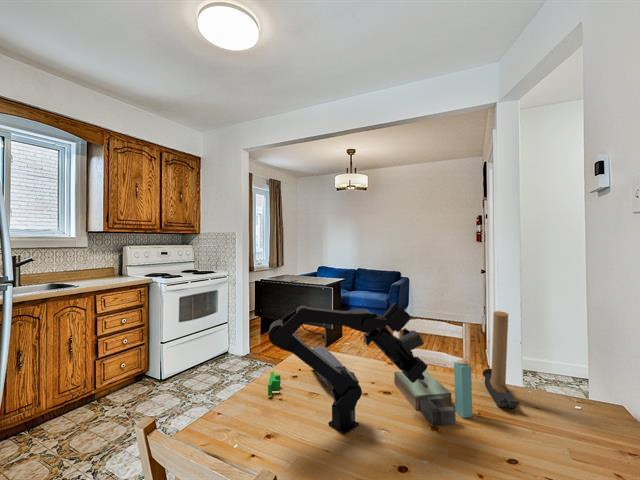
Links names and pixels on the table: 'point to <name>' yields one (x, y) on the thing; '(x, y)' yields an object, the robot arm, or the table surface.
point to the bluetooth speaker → (330, 359)
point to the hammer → (499, 363)
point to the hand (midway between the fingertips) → (423, 378)
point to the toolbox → (428, 398)
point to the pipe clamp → (273, 383)
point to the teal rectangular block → (463, 388)
